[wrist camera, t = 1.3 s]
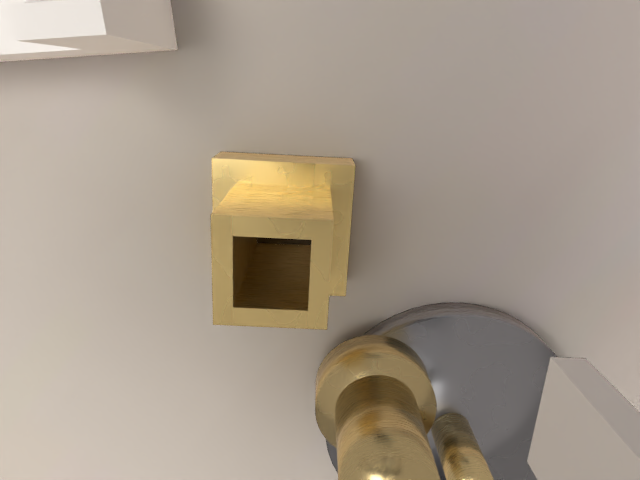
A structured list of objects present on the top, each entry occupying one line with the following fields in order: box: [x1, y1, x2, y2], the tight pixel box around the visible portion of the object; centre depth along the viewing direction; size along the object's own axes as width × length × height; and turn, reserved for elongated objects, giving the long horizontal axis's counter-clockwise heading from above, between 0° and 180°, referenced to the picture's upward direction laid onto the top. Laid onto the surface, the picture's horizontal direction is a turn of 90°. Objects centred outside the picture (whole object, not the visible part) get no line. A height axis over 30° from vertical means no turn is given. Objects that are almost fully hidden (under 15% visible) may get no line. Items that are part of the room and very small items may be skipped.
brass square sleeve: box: [211, 152, 355, 330], centre depth 20 cm, size 6×6×7 cm
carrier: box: [315, 303, 557, 480], centre depth 22 cm, size 13×14×9 cm
